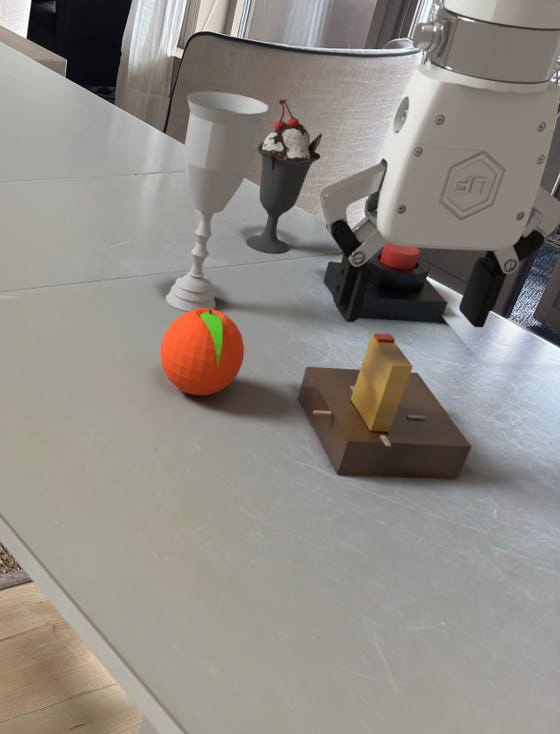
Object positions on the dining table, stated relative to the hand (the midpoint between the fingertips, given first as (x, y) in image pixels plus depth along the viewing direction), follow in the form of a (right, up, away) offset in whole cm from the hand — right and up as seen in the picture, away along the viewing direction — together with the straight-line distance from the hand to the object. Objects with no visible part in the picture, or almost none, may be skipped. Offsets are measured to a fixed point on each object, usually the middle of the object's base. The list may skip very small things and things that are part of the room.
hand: (408, 316), depth 71 cm
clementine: (-14, -3, +12) cm, 19 cm away
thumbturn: (-1, -6, +5) cm, 8 cm away
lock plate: (0, -7, +9) cm, 11 cm away
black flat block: (+7, +12, +31) cm, 34 cm away
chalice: (-13, +10, +26) cm, 31 cm away
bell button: (+9, +15, +29) cm, 34 cm away
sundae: (-3, +21, +40) cm, 45 cm away
